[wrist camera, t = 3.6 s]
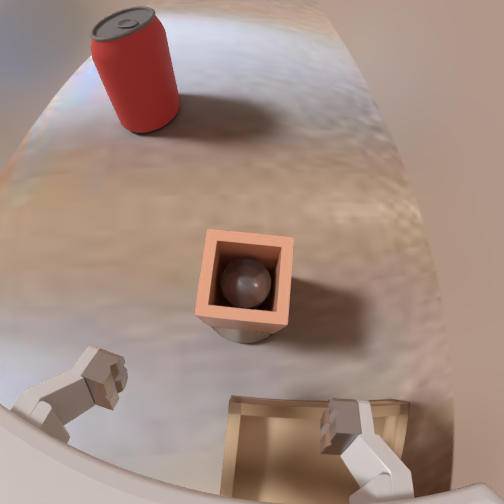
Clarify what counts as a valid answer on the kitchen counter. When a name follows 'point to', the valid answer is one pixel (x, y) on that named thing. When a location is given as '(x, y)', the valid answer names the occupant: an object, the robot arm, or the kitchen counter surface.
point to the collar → (237, 247)
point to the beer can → (136, 68)
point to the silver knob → (245, 295)
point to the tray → (294, 450)
